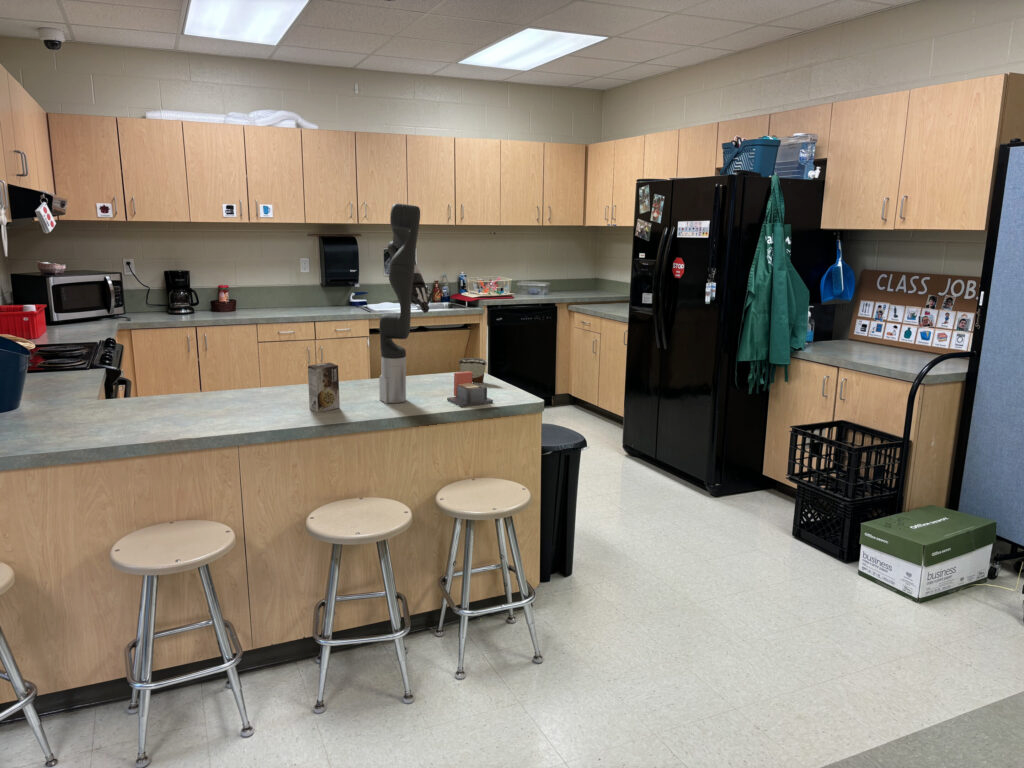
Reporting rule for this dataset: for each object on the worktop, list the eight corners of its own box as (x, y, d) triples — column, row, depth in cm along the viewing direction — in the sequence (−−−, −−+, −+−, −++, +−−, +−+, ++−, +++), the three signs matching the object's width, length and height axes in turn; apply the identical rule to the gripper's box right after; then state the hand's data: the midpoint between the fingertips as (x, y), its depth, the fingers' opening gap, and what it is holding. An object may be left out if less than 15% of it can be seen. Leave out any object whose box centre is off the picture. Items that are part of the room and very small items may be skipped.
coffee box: (330, 404, 263) (329, 362, 259) (340, 408, 259) (339, 365, 255) (308, 408, 257) (307, 365, 253) (317, 412, 252) (316, 368, 249)
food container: (488, 380, 310) (488, 358, 307) (486, 383, 304) (486, 361, 301) (460, 379, 311) (460, 356, 308) (458, 382, 305) (458, 359, 303)
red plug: (465, 400, 269) (465, 377, 267) (453, 395, 276) (454, 372, 274) (481, 398, 273) (481, 375, 271) (469, 393, 280) (469, 371, 278)
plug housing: (461, 407, 265) (461, 390, 264) (447, 400, 274) (447, 384, 273) (492, 403, 273) (493, 386, 272) (477, 396, 282) (478, 380, 280)
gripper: (401, 272, 286) (414, 306, 279) (430, 271, 293) (444, 305, 286) (395, 284, 291) (408, 318, 284) (424, 283, 298) (437, 316, 291)
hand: (426, 311), depth 285 cm, fingers closed
